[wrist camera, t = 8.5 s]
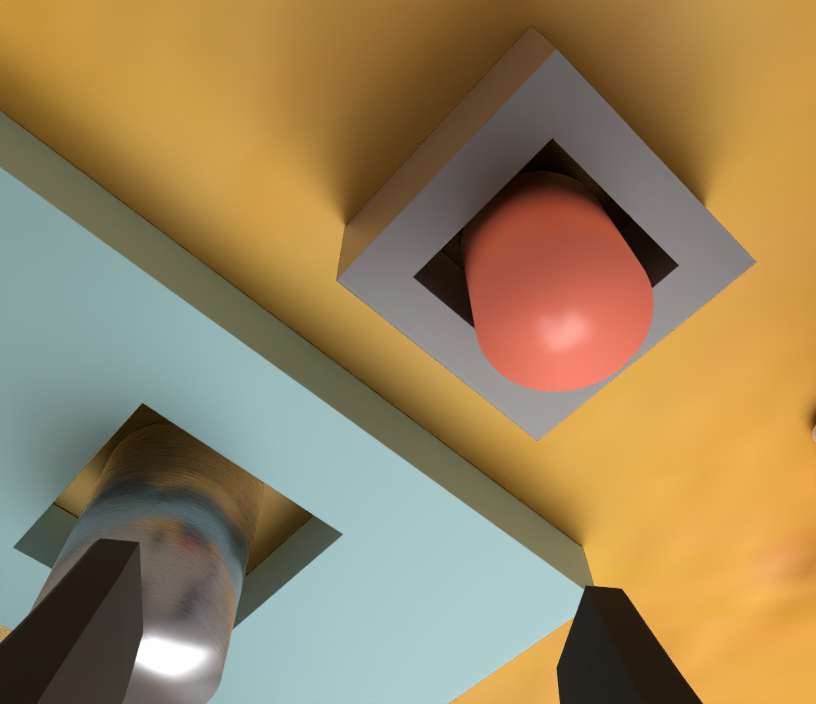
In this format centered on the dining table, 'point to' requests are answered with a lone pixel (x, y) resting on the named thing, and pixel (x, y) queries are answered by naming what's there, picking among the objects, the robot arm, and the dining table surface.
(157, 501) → the cylinder
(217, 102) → the dining table surface
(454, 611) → the plate
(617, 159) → the button housing
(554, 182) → the button
